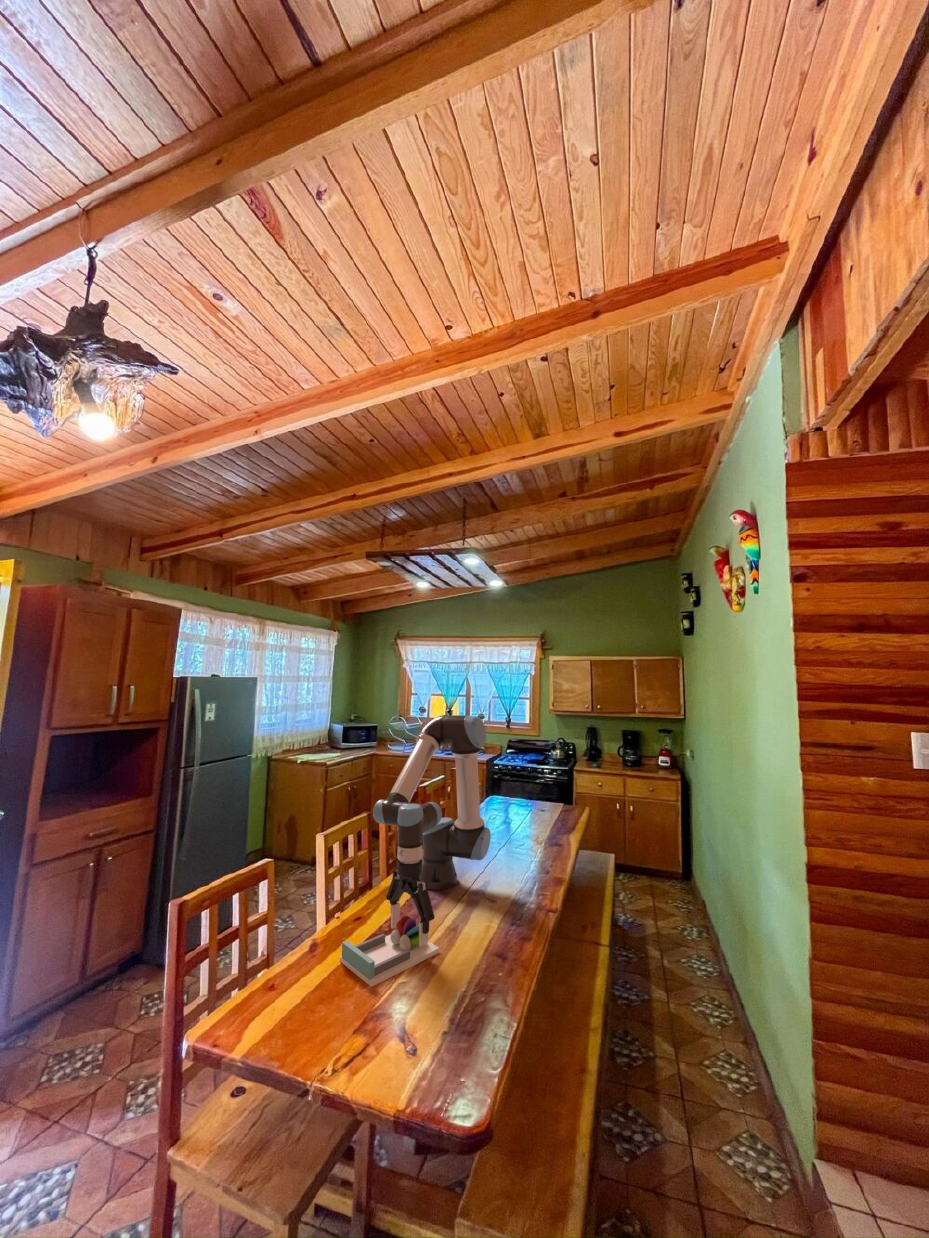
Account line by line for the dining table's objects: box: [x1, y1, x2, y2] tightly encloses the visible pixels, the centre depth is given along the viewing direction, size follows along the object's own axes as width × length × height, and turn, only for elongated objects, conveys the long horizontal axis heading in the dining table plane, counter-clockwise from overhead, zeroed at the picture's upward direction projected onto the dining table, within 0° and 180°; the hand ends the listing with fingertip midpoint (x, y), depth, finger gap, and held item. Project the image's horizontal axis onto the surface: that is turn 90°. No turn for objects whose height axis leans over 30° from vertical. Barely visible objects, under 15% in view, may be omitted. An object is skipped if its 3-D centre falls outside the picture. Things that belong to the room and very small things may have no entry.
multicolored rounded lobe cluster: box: [390, 915, 419, 951], centre depth 143 cm, size 8×10×7 cm
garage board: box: [339, 933, 440, 988], centre depth 138 cm, size 23×16×5 cm
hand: (408, 935), depth 143 cm, fingers open, 13 cm apart
